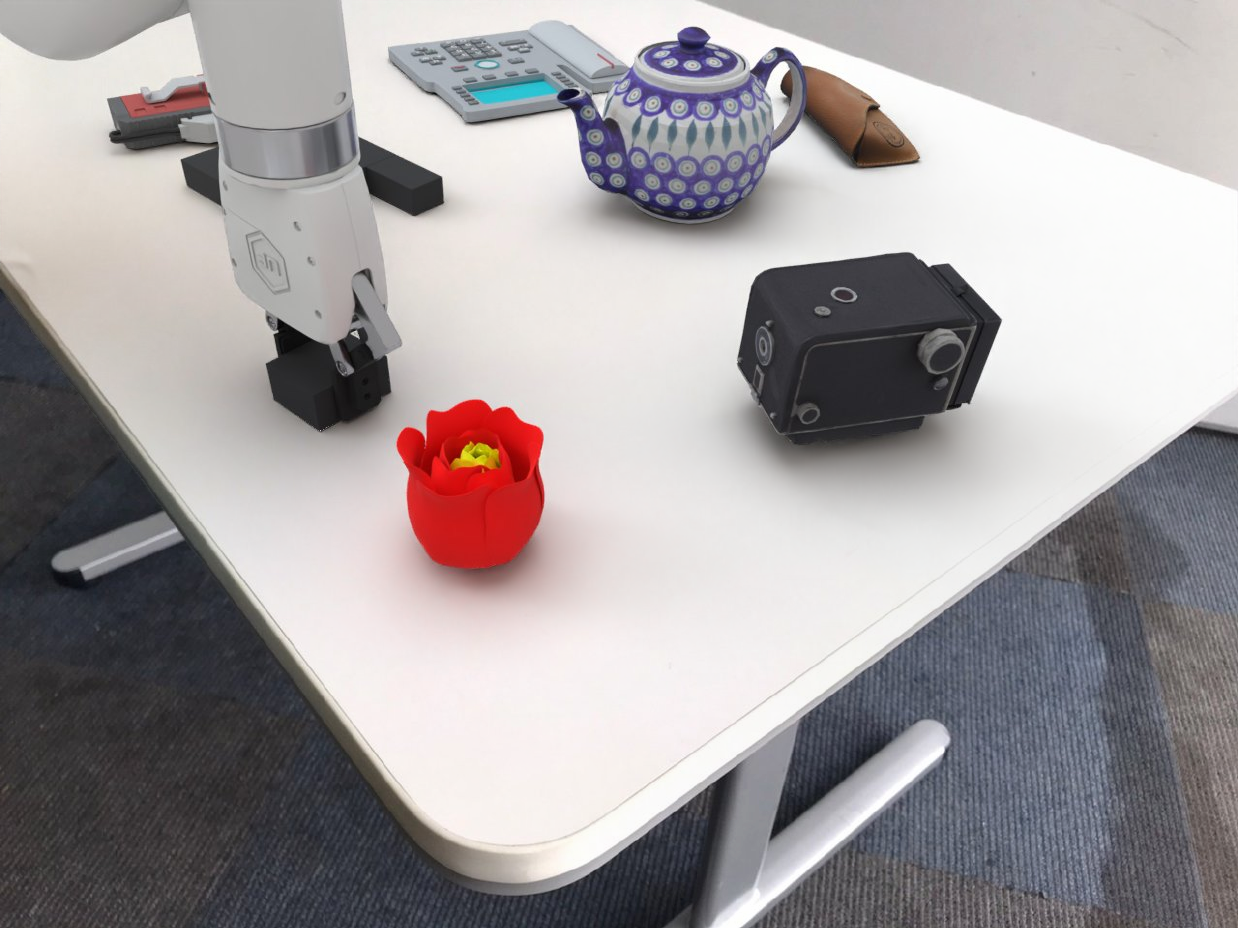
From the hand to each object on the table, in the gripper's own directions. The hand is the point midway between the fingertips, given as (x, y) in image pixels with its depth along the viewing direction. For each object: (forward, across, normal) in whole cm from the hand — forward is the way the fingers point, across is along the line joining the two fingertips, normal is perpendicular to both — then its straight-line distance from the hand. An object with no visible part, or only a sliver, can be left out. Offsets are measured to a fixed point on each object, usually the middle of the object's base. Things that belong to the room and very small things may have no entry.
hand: (332, 390), depth 69 cm
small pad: (0, 0, 0) cm, 0 cm away
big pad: (0, -24, +17) cm, 29 cm away
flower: (+1, +17, -3) cm, 17 cm away
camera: (+1, +27, +22) cm, 35 cm away
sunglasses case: (+1, +2, +65) cm, 65 cm away
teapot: (+1, -1, +40) cm, 40 cm away
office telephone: (+1, -31, +50) cm, 59 cm away
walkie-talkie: (+1, -42, +19) cm, 46 cm away
